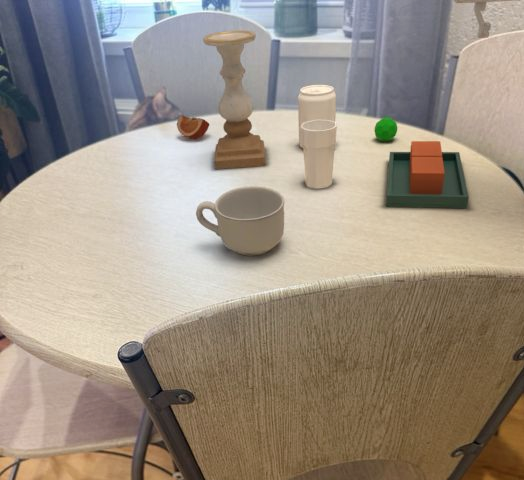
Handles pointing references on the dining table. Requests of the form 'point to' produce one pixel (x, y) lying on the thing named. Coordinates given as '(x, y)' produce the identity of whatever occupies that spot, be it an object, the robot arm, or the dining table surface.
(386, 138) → the polyhedron
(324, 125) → the cup
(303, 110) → the beverage can
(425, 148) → the orange rectangular block
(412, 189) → the orange block
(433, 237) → the dining table surface
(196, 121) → the fruit slice
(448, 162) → the tray
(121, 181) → the dining table surface
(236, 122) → the candle holder
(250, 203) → the teacup
